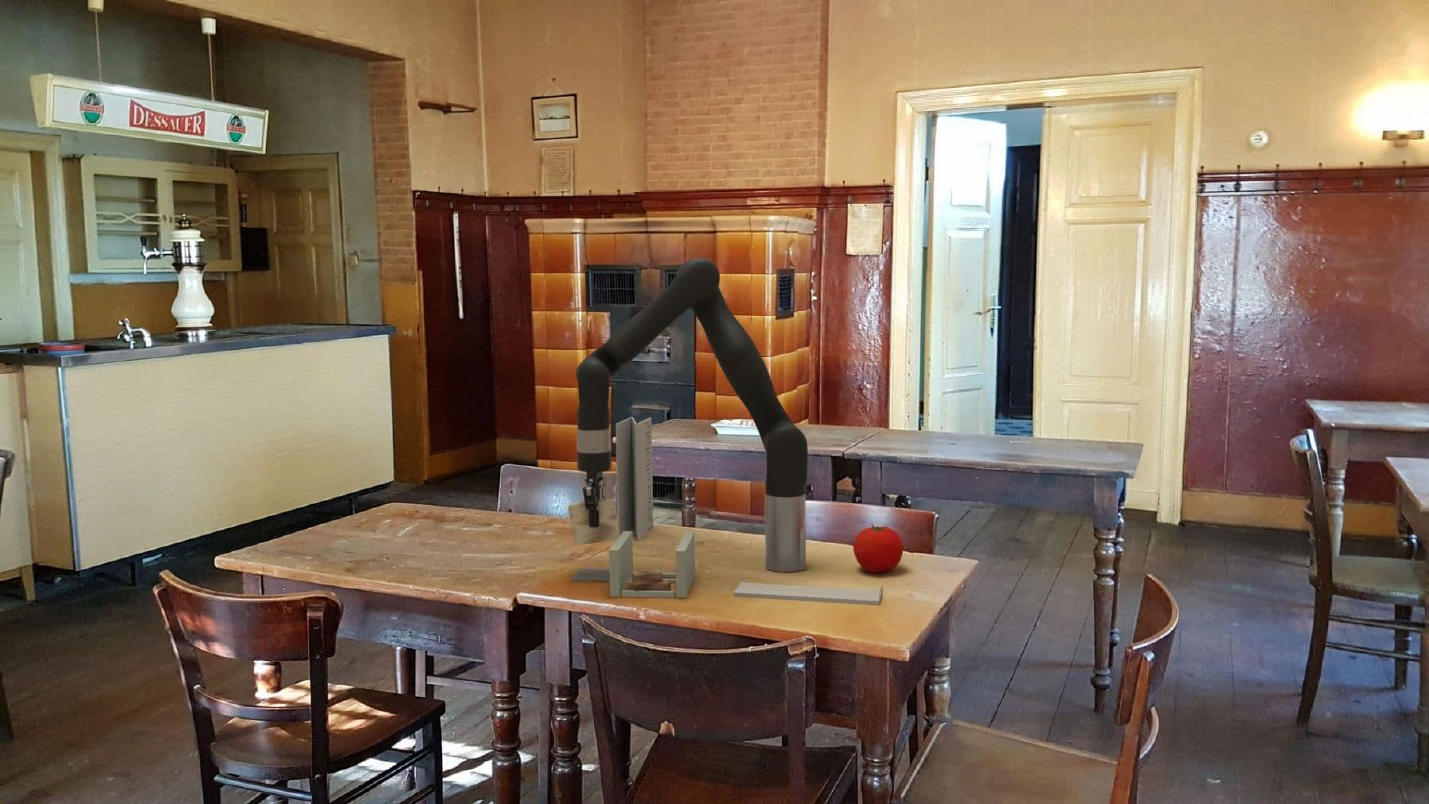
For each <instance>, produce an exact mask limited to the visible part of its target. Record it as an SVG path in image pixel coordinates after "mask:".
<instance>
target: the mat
mask: <svg viewBox="0 0 1429 804" xmlns="http://www.w3.org/2000/svg"><path fill="white" fill-rule="evenodd" d="M570 580H572V581H573V580H574V581H599V582H598V583H610V572H609V568H578V570H577V571H576V572H575V573H574V574H573V576H572V577H571V578H570ZM572 581H571V582H572Z"/></svg>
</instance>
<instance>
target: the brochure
mask: <svg viewBox="0 0 1429 804" xmlns="http://www.w3.org/2000/svg"><path fill="white" fill-rule="evenodd" d="M652 425H653V424H652V417H648V418H646V419H644V420H642V421H640V422H638V423H636V421H635V419H634V417H633V416H630V417H628V418H626V419H623V420H622V421H619V422H617V423H615V442H616V443H615V447H616V448H615V449H616V492H617V494H616V495H617V496H616V497H617V498H616V499H617V500H616V503H617V520H618V527H619V533H620V535H621V534H622V533H623V531H632V530H634V533H635V537H636V539H637V541H638V540H639V541H641V540H642V539H643V538H644V537H645V536H646V535H647V534H648V533H650V531H652V530H653V529H654V498H653V497H654V496H653V495H654V493H653V488H654V487H653V486H654V485H653V436H652V432H653V431H652ZM652 528H653V529H652ZM651 529H652V530H651Z"/></svg>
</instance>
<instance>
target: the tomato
mask: <svg viewBox="0 0 1429 804" xmlns="http://www.w3.org/2000/svg"><path fill="white" fill-rule="evenodd" d="M852 548H853V549H852V550H853V553H854V557H855V560H856V561H857V563H858V564H859V566H860V567H861V568H863V569H864V570H866V571H868V572H870V573H885V572H889V571H890V570H892V569H895V568H896V567H897V566H898V565H899V564H900V563H901V560H902V557H903V553H904V545H903V543H902V540H901V537H900V534H899V533H898V532H897V531H896V530H894V529H892V528H890V527H889V526H888V525H886V526H874V524H873V523H871V526H870V527H866V528H864V529H863V530H861V531H859V533H858V534H857V535H856V536H855V539H854V543H853V544H852Z"/></svg>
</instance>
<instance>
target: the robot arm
mask: <svg viewBox="0 0 1429 804" xmlns="http://www.w3.org/2000/svg"><path fill="white" fill-rule="evenodd" d="M675 274H676V275H675V278H674V279H673V280H672V282H671V283H670V284H669V286H668V287H667V288H665V290H664V291H663V292H662V293H661V294H660V295H658V297H656V298H655V299H654V300H653V301H652V302H651V303H649V304H648V305H647V306H645V307H644V308H643V309H642V310H640V311H639V312H637V314H635V315H634V316H632V318H630V319H629V320H628V321H627V322H626V323H624V324H623V325H622V326H621V327H620V328H619V329H617V330H616V332H615V333H613V334H612V335H611V336H610V337H609V338H608V339H607V340H606V341H605V342H604V343H603V344H601V346H599V347H598V348H597V349H596V350H594V351H593V352H591V353H590V354H589V355H588V356H586V357H585V358H584V359H583V360H582V361H581V362H580V363H579V364H578V365H577V367H576V371H575V377H576V380H577V394H578V407H577V415H576V416H577V435H576V461H577V462H576V463H577V470H578V471H579V472H581V473H582V472H583V473H586V478H584V480H583V481H584V482H583V485H584V486H583V488H582V492H583V498H584V499H583V500H584V501H583V502H585V508H586V510H588V511H589V527H598V526H599V509H600V507H599V500H604V499H606V497H605V495H606V483H607V477H606V476H604V474H603V473H605V472H608V471H610V470H611V469H612V438H611V431H610V410H609V409H610V407H609V402H610V399H609V398H610V387H611V386H610V383H611V382H610V379H611V377H612V376H613V375H614V374H615V373H617V372H618V371H619V370H620V369H621V368H622V367H624V366H626V365H628V364H630V363H631V362H632V361H633V360H634V359H635V358H637V357H638V356H639V355H640V354H641V353H642V352H643V351H644V350H646V348H647V347H648V346H649V345H651V344H652V343H653V342H654V341H655V339H657V338H658V337H659V336H660V335H661V334H662V333H663V332H664V331H665V330H666V329H667V328H668V327H669V326H670V325H671V324H672V323H673V322H674V321H676V320H677V319H678V318H680V317H681V316H682V315H683V314H684V313H686V312H687V311H688V310H689V309H691V310H692V312H693V314H694V315H695V317H696V318H697V320H698V321H699V323H700V325H701V327H702V329H703V331H704V334H705V336H706V339H707V341H708V343H709V346H710V348H711V350H712V352H713V354H714V356H715V359H716V361H717V363H718V365H719V366H720V369H721V371H722V373H723V375H724V376H725V378H726V380H727V381H728V383H729V385H730V386H731V387H732V390H733V391H734V392H735V394H736V396H737V397H738V398H739V399H740V401H741V403H742V405H743V406H744V407H745V408H746V409H747V411H748V413H749V414H750V416H751V418H752V421H753V423H754V425H755V427H756V430H757V432H758V434H759V437H760V440H761V442H762V445H763V448H764V451H765V452H766V477H765V482H764V491H765V494H764V501H765V502H764V512H765V513H764V520H765V521H764V524H765V525H764V529H765V531H764V533H765V535H764V537H765V538H764V539H765V547H764V548H765V568H766V569H768V570H769V571H774V572H781V573H788V572H789V573H790V572H793V573H794V572H798V571H806V567H807V566H806V564H807V563H806V562H807V561H806V559H807V557H806V556H807V555H806V553H807V551H806V549H807V548H806V546H807V542H806V538H807V537H806V535H807V533H806V531H807V524H806V490H807V489H806V487H807V482H808V481H807V480H808V461H809V460H808V458H809V457H808V456H809V455H808V454H809V453H808V442H807V438H806V436H805V433H803V432H802V430H801V429H799V428H798V427H797V425H796V424H795V423H794V422H793V421H792V419H791V418H790V416H789V415H788V413H787V412H786V410H785V408H784V406H783V405H782V403H781V402H780V400H779V398H778V396H777V393H776V390H775V387H774V384H773V382H772V379H771V378H772V377H771V375H770V373H769V371H768V367H767V365H766V363H765V360H764V359H763V357H762V356H761V353H760V351H759V349H758V347H757V346H756V344H755V342H754V341H753V339H752V338H751V336H750V335H749V334H748V332H747V330H746V329H745V328H744V327H743V325H742V324H741V323H740V322H739V320H738V319H737V318H736V317H735V316H734V314H733V312H732V311H731V310H730V308H729V306H728V304H727V303H726V300H725V298H724V295H723V294H722V291H721V289H720V282H721V274H720V271H719V268H718V267H717V265H716V264H715V263H714V262H713V261H711V260H710V259H707V258H702V257H695V258H691V259H688V260H687V261H685V262H684V263H683V264H681V265H680V267H679V268H678V270H677V272H676V273H675ZM591 502H593V503H594V504H591Z"/></svg>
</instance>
